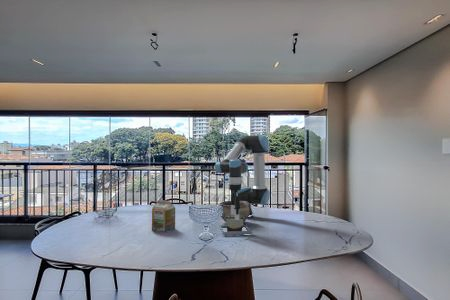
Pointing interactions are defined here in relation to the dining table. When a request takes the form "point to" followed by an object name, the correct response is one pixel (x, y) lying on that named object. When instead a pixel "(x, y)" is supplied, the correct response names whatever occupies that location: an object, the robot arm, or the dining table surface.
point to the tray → (235, 231)
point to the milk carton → (163, 216)
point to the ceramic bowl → (242, 211)
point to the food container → (234, 223)
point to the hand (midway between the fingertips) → (234, 217)
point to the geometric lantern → (105, 193)
